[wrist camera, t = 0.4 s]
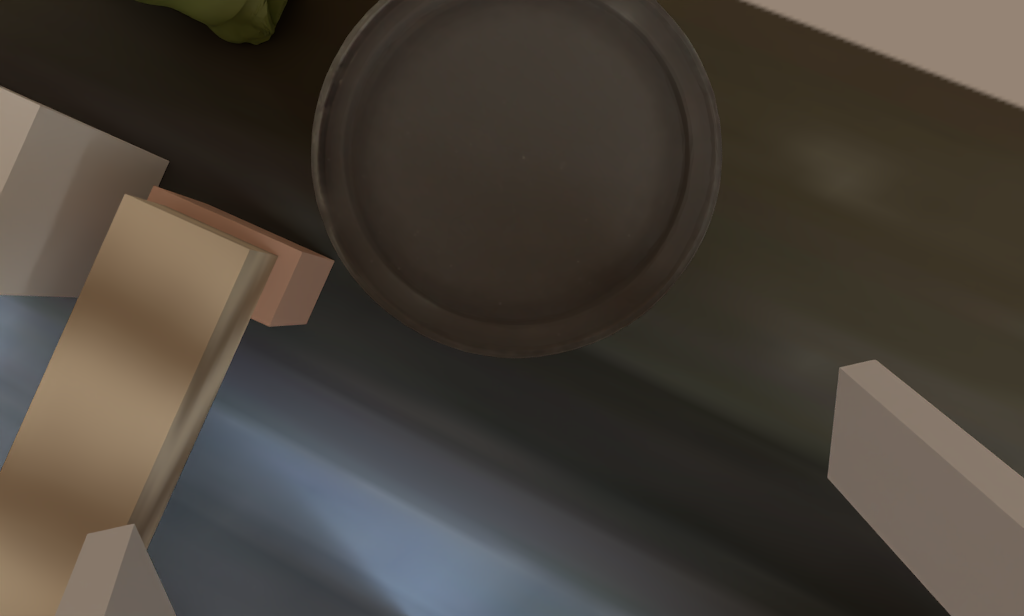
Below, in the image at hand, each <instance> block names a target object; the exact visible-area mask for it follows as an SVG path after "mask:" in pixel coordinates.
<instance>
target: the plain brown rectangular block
mask: <svg viewBox="0 0 1024 616" xmlns="http://www.w3.org/2000/svg"><path fill="white" fill-rule="evenodd" d="M147 200H148V201H151V202H155V203H158V204H161V205H165V206H167V207H170V208H172V209H174V210H176V211H179V212H181V213H183V214H185V215H188V216H190V217H192V218H194V219H197V220H199V221H201V222H203V223H205V224H208V225H210V226H212V227H214V228H217V229H219V230H221V231H223V232H226V233H228V234H230V235H232V236H235V237H237V238H239V239H241V240H243V241H246V242H248V243H250V244H252V245H255V246H257V247H259V248H261V249H264V250H266V251H268V252H270V253H273V254H275V255H277V256H278V258H277V260H276V262H275V265H274V267H273V269H272V271H271V274H270V276H269V278H268V280H267V283H266V285H265V287H264V289H263V291H262V294H261V296H260V298H259V300H258V303H257V305H256V307H255V309H254V312H253V314H252V316H251V319H253V320H255V321H258V322H260V323H262V324H264V325H266V326H269V327H272V326H287V325H302V324H307V322H308V319H309V317H310V315H311V313H312V310H313V308H314V306H315V304H316V302H317V299H318V297H319V295H320V293H321V290H322V288H323V286H324V284H325V281H326V279H327V277H328V275H329V272H330V270H331V268H332V266H333V264H334V260H332V259H329V258H327V257H325V256H323V255H320V254H318V253H316V252H314V251H312V250H309V249H307V248H305V247H303V246H300V245H298V244H296V243H294V242H291V241H289V240H287V239H285V238H282V237H280V236H278V235H276V234H273V233H271V232H269V231H267V230H265V229H262V228H260V227H258V226H256V225H253V224H251V223H249V222H247V221H244V220H242V219H240V218H238V217H235V216H233V215H231V214H229V213H227V212H224V211H222V210H220V209H218V208H215V207H213V206H211V205H209V204H206V203H203V202H200V201H197V200H194V199H191V198H189V197H186V196H183V195H180V194H177V193H174V192H171V191H168V190H165V189H163V188H160V187H157V186H154V185H153V188H152V190H151V192H150V194H149V197H148V199H147Z"/></svg>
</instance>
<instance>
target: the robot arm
mask: <svg viewBox="0 0 1024 616" xmlns="http://www.w3.org/2000/svg"><path fill="white" fill-rule="evenodd" d="M827 478H828V479H829V480H830V481H831V482H832V483H833V485H834V486H835V487H836V488H837V489H838V490H839V491H840V492H841V493H842V495H843V496H844V497H845V498H846V499H847V500H848V501H849V502H850V504H851V505H852V506H853V507H854V508H855V509H856V510H857V511H858V512H859V514H860V515H861V516H862V517H863V518H864V519H865V520H866V521H867V522H868V524H869V525H870V526H871V527H872V528H873V529H874V530H875V531H876V533H877V534H878V535H879V536H880V537H881V538H882V539H883V540H884V541H885V543H886V544H887V545H888V546H889V547H890V548H891V549H892V550H893V552H894V553H895V554H896V555H897V556H898V557H899V558H900V559H901V560H902V562H903V563H904V564H905V565H906V566H907V567H908V568H909V569H910V570H911V572H912V573H913V574H914V575H915V576H916V577H917V578H918V579H919V581H920V582H921V583H922V584H923V585H924V586H925V587H926V588H927V589H928V591H929V592H930V593H931V594H932V595H933V596H934V597H935V598H936V600H937V601H938V602H939V603H940V604H941V605H942V606H943V607H944V608H945V610H946V611H947V612H948V613H949V614H950V615H951V616H1024V478H1023V477H1022V476H1020V475H1019V474H1018V473H1017V472H1015V471H1014V470H1013V469H1012V468H1010V467H1009V466H1008V465H1007V464H1005V463H1004V462H1003V461H1002V460H1000V459H999V458H998V457H997V456H995V455H994V454H993V453H992V452H990V451H989V450H988V449H987V448H985V447H984V446H983V445H982V444H980V443H979V442H978V441H977V440H975V439H974V438H973V437H972V436H970V435H969V434H968V433H967V432H965V431H964V430H963V429H962V428H960V427H959V426H958V425H957V424H955V423H954V422H953V421H952V420H950V419H949V418H948V417H947V416H945V415H944V414H943V413H942V412H940V411H939V410H938V409H937V408H935V407H934V406H933V405H932V404H930V403H929V402H928V401H927V400H925V399H924V398H923V397H922V396H920V395H919V394H918V393H917V392H915V391H914V390H913V389H912V388H910V387H909V386H908V385H907V384H905V383H904V382H903V381H902V380H900V379H899V378H898V377H897V376H895V375H894V374H893V373H892V372H890V371H889V370H888V369H887V368H885V367H884V366H883V365H882V364H880V363H879V362H878V361H877V360H871V361H866V362H862V363H857V364H853V365H848V366H844V367H839V376H838V385H837V395H836V404H835V413H834V422H833V431H832V440H831V449H830V459H829V468H828V477H827ZM55 616H176V614H175V611H174V609H173V607H172V605H171V603H170V600H169V598H168V596H167V594H166V592H165V589H164V587H163V585H162V583H161V581H160V578H159V576H158V574H157V572H156V570H155V568H154V565H153V563H152V561H151V559H150V557H149V554H148V552H147V550H146V548H145V546H144V543H143V541H142V539H141V537H140V535H139V532H138V530H137V528H136V526H135V524H130V525H125V526H121V527H116V528H112V529H107V530H103V531H98V532H94V533H89V534H87V536H86V539H85V541H84V544H83V546H82V549H81V551H80V554H79V556H78V559H77V561H76V564H75V566H74V569H73V571H72V574H71V576H70V579H69V581H68V584H67V586H66V589H65V591H64V594H63V596H62V599H61V601H60V604H59V606H58V609H57V611H56V614H55Z"/></svg>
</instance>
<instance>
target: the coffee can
mask: <svg viewBox="0 0 1024 616" xmlns="http://www.w3.org/2000/svg"><path fill="white" fill-rule="evenodd" d="M721 165H722V141H721V129H720V119H719V115H718V111H717V106H716V101H715V95H714V92H713V89H712V87H711V84H710V81H709V78H708V76H707V74H706V71H705V69H704V67H703V65H702V62H701V60H700V58H699V57H698V55H697V53H696V51H695V49H694V48H693V46H692V44H691V43H690V41H689V39H688V38H687V36H686V35H685V33H684V32H683V31H682V29H681V28H680V27H679V26H678V25H677V23H676V22H675V21H674V20H673V19H672V18H671V16H670V15H669V14H668V13H667V12H666V11H665V9H664V8H662V7H661V6H660V4H659V3H658V2H657V1H656V0H379V1H378V2H377V3H376V4H375V5H374V6H373V7H372V8H371V9H370V10H369V11H367V13H366V14H365V15H364V16H363V17H362V19H361V20H360V21H359V22H358V23H357V25H356V26H355V27H354V28H353V29H352V31H351V32H350V33H349V35H348V36H347V37H346V39H345V41H344V43H343V44H342V46H341V48H340V49H339V51H338V53H337V55H336V56H335V58H334V60H333V62H332V64H331V66H330V69H329V71H328V73H327V75H326V77H325V80H324V83H323V86H322V89H321V91H320V95H319V99H318V103H317V107H316V111H315V116H314V123H313V128H312V144H311V168H312V179H313V185H314V192H315V197H316V201H317V205H318V209H319V212H320V215H321V218H322V220H323V223H324V226H325V229H326V231H327V234H328V236H329V238H330V240H331V243H332V245H333V247H334V249H335V250H336V252H337V254H338V256H339V258H340V259H341V261H342V263H343V264H344V265H345V267H346V268H347V270H348V271H349V273H350V274H351V276H352V277H353V278H354V279H355V280H356V282H357V283H358V284H359V285H360V286H361V287H362V289H363V290H364V291H365V292H366V293H367V294H368V295H369V296H370V297H371V298H372V299H373V300H374V301H375V302H376V303H377V304H378V305H379V306H381V307H382V308H383V309H384V310H385V311H386V312H388V313H389V314H390V315H391V316H393V317H394V318H396V319H397V320H398V321H400V322H401V323H403V324H404V325H406V326H408V327H409V328H411V329H413V330H415V331H416V332H418V333H419V334H421V335H423V336H425V337H427V338H430V339H432V340H434V341H436V342H439V343H441V344H444V345H447V346H450V347H452V348H455V349H458V350H461V351H464V352H468V353H474V354H479V355H484V356H492V357H500V358H532V357H541V356H547V355H554V354H558V353H562V352H567V351H571V350H575V349H578V348H581V347H584V346H587V345H589V344H592V343H595V342H597V341H599V340H602V339H604V338H606V337H608V336H611V335H613V334H615V333H616V332H618V331H620V330H621V329H623V328H624V327H626V326H628V325H629V324H631V323H632V322H634V321H635V320H636V319H638V318H639V317H640V316H642V315H643V314H645V313H646V312H647V311H648V310H649V309H651V308H652V307H653V306H654V305H655V304H656V303H657V302H658V301H659V300H660V299H661V298H662V297H663V296H664V295H665V294H666V293H667V292H668V291H669V289H670V288H671V287H672V286H673V285H674V284H675V282H676V281H677V280H678V279H679V277H680V276H681V275H682V273H683V272H684V271H685V269H686V268H687V266H688V265H689V263H690V262H691V260H692V259H693V257H694V255H695V253H696V251H697V250H698V248H699V246H700V244H701V242H702V240H703V238H704V236H705V234H706V231H707V229H708V226H709V224H710V222H711V218H712V215H713V212H714V209H715V205H716V201H717V196H718V191H719V186H720V179H721Z"/></svg>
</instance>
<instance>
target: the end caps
mask: <svg viewBox="0 0 1024 616" xmlns="http://www.w3.org/2000/svg"><path fill="white" fill-rule="evenodd" d="M168 164H169V161H168V160H166V159H163V158H161V157H159V156H157V155H155V154H152V153H150V152H148V151H146V150H143V149H141V148H139V147H137V146H134V145H132V144H130V143H128V142H125V141H123V140H121V139H119V138H117V137H114V136H112V135H110V134H108V133H105V132H103V131H101V130H99V129H96V128H94V127H92V126H90V125H87V124H85V123H83V122H81V121H78V120H76V119H74V118H72V117H70V116H67V115H65V114H63V113H61V112H58V111H56V110H54V109H52V108H49V107H47V106H45V105H43V104H40V103H38V102H36V101H34V100H31V99H29V98H27V97H25V96H23V95H20V94H18V93H16V92H14V91H11V90H9V89H7V88H5V87H2V86H0V295H13V296H46V297H79V295H80V293H81V290H82V288H83V286H84V284H85V282H86V279H87V277H88V275H89V273H90V270H91V268H92V266H93V264H94V261H95V259H96V257H97V255H98V252H99V250H100V248H101V246H102V244H103V241H104V239H105V237H106V235H107V232H108V230H109V228H110V226H111V223H112V221H113V219H114V217H115V215H116V212H117V210H118V208H119V206H120V203H121V201H122V199H123V197H124V194H128V195H131V196H135V197H138V198H141V199H145V200H147V199H148V197H149V194H150V192H151V190H152V188H153V185H154V186H157V187H158V186H159V184H160V181H161V179H162V177H163V175H164V173H165V170H166V168H167V166H168Z"/></svg>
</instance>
